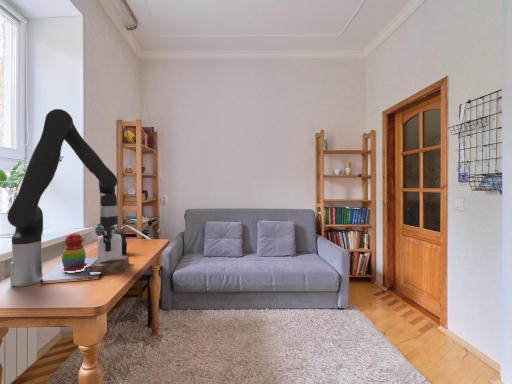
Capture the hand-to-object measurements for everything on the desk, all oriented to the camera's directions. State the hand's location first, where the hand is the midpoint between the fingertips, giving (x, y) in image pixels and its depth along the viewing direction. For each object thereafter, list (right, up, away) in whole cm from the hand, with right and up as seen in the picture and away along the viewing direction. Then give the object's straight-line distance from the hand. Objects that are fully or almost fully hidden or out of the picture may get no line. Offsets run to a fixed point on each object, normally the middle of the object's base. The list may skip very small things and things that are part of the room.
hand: (109, 249), depth 123 cm
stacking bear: (-16, -10, -1) cm, 19 cm away
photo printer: (0, -5, 0) cm, 5 cm away
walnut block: (0, -9, 0) cm, 9 cm away
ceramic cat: (-15, -9, +29) cm, 34 cm away
